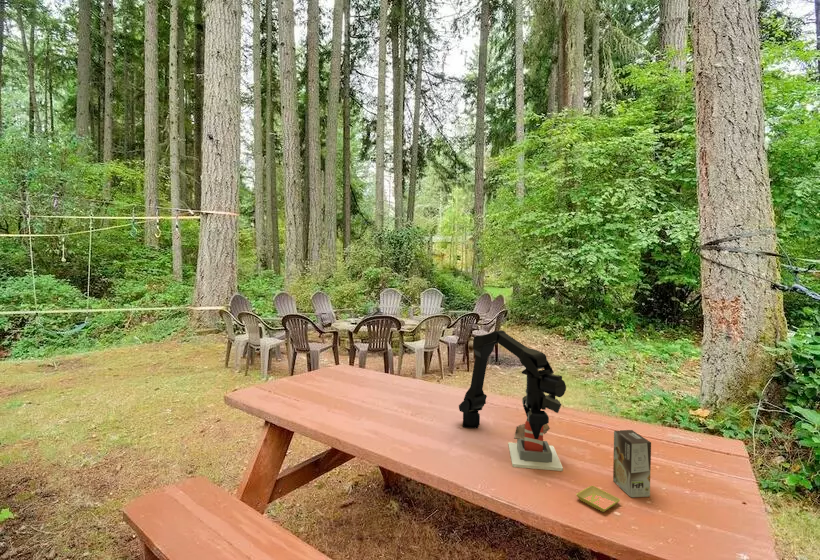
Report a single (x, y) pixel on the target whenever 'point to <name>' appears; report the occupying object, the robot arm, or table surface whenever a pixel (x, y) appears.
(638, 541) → the table surface
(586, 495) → the olive green tray
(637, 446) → the coffee box
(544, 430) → the brown fossil slab
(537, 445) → the beverage can
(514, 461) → the can holder
